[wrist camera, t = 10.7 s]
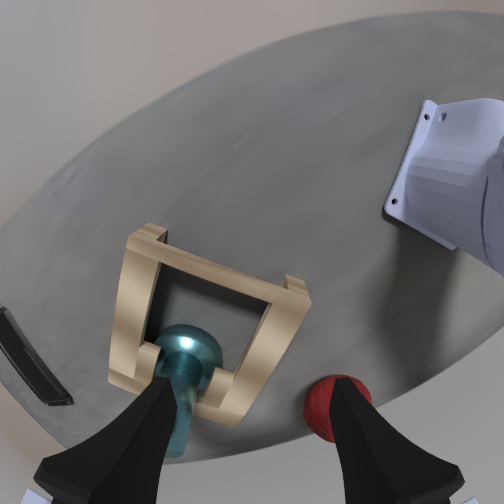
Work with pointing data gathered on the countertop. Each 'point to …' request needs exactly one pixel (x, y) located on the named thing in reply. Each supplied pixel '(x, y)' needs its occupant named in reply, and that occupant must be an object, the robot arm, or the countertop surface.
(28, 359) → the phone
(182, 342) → the peg
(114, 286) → the countertop surface
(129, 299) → the beige wooden frame
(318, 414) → the onion
